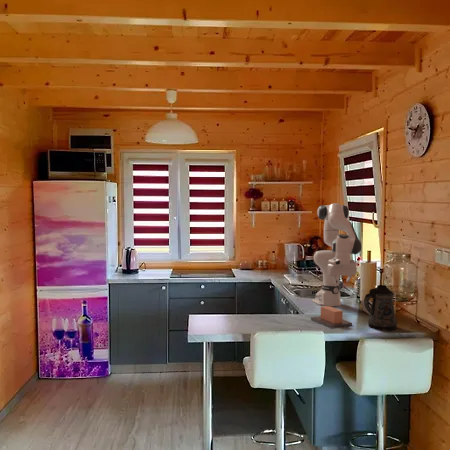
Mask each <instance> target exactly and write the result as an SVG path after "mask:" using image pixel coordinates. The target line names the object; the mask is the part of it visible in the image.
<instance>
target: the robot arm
mask: <svg viewBox="0 0 450 450" xmlns="http://www.w3.org/2000/svg"><path fill="white" fill-rule="evenodd" d="M316 214H317V218H318V219H319V220H321V221H324V223H323V243H324V244H326V245H327V246H329V247H331V250H330V249H329V250H325V249H323V250H316V251H315V252H314V254H313V262H314V263H315V264H316V265H317V266H318V267H319V269H320V270H321V272H322V276H323V277H322V281H323V282H322V284H321V288H320V290H318V291H317V292H316V294H315V298H313V299H312V300H311V301H312V302H313V303H315V304H317V305H319V306H330V307H338V306H341V305H342V304H343V303H342V301H341V292H340V289H341V288H340V276H341V277H342V276H347V278H346V280H345V281H346V283H350V282H351V278H353V277H352V276H354V275H357V273H358V270H357V262H356V260H355V259H351V255H358V254H359V253H361V251H362V242H361V241H360V239H359V237H358V234H357V233H356V230H355V228H354V225H353V223H352V222H351V221H349V220H348V217H349V215H350V209H349V207H348V206H347V205H345V204H340V203H336V202H334V203H331V204H327V205H324V204H322V205H320V206H319V207H318V208H317V210H316ZM340 231H341V232H344V233H347V234H342V233H340ZM350 254H351V255H350Z"/></svg>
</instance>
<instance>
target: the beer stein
mask: <svg viewBox="0 0 450 450" xmlns="http://www.w3.org/2000/svg"><path fill="white" fill-rule="evenodd" d="M394 295H395V294H394V292H393V291H392V290H390V289H389V288H388V286H387V285H385V284H378V285H377V287H375V288H371V289H369V292H368V293H367V294H365V296H364V299H363V301H364V305H365V308H366V309H367V311H368V312H369V313H370V315H369V316H368V317H369V318H368V320H367V323H368V327H369V328H370V329H372V330H376V331H381V332H393V331H396V330H395V329H397V328H398V327H397V326H398V321H397V318H396V314H395V309H394V307H395V306H394V300H393V298H394ZM371 299H372V300H371ZM369 301H371V302H372V306H371V308H370V306H369ZM392 330H393V331H392Z"/></svg>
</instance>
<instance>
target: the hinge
mask: <svg viewBox="0 0 450 450" xmlns="http://www.w3.org/2000/svg"><path fill="white" fill-rule="evenodd" d="M360 304H361V305H360V306H361V309H362V310H363V312H365V313H366V314H368V315H369V316H370V313H369V312H368V311H367V309H366V308H365V305H364V300H362V301H360ZM369 306H370V308H371V306H372V300H369Z"/></svg>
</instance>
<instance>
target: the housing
mask: <svg viewBox="0 0 450 450" xmlns="http://www.w3.org/2000/svg"><path fill="white" fill-rule="evenodd" d="M343 313H344V311H343V310H341V309H338V308H336V307H334V306H325V305H323V306H320V316H321V317H320V316H319V317H320V318H322V319H325V320H327V321H329V322H332V323H342V319H344V318H343V315H344V314H343Z"/></svg>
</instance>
